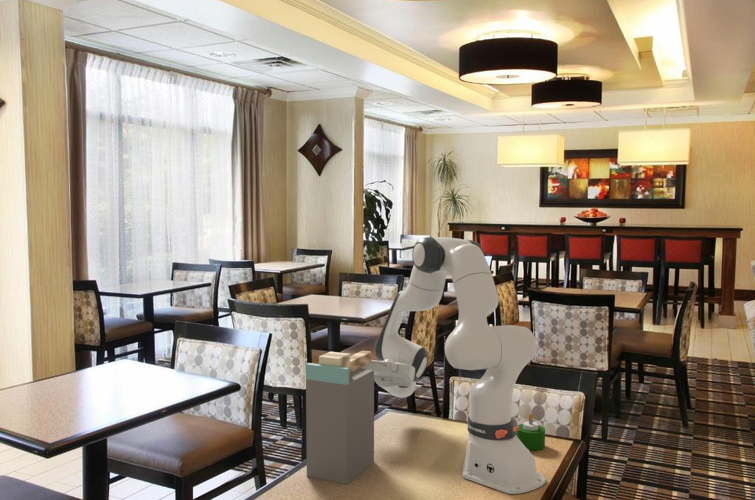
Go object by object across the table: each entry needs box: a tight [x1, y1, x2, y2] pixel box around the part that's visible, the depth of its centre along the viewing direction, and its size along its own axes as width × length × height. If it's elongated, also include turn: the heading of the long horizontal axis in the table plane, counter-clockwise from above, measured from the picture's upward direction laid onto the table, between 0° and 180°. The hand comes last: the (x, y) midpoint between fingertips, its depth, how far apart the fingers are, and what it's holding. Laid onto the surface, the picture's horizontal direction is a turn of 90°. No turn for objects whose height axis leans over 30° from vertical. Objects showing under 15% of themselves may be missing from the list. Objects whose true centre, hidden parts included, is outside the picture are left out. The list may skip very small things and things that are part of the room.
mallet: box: [318, 350, 372, 376], centre depth 178 cm, size 22×6×6 cm, turn 155°
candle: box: [516, 413, 546, 453], centre depth 192 cm, size 8×8×10 cm
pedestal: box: [305, 362, 375, 485], centre depth 175 cm, size 16×12×30 cm
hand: (371, 361), depth 191 cm, fingers open, 8 cm apart
